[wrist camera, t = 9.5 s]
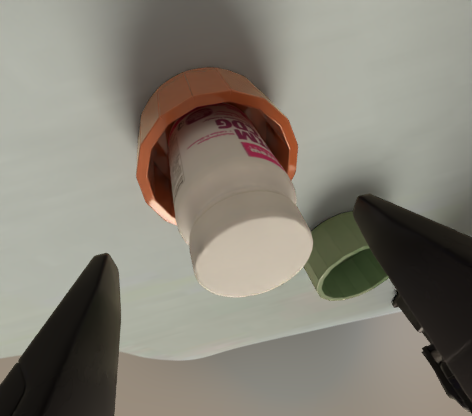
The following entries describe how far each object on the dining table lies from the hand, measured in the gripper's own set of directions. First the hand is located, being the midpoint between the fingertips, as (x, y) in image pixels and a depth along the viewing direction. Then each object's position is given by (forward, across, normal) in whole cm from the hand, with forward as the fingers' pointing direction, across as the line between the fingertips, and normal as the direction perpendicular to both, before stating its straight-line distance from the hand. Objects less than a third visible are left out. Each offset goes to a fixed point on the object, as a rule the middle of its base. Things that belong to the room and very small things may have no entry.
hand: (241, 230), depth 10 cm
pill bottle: (+7, 0, 0) cm, 7 cm away
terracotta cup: (+7, 0, 0) cm, 7 cm away
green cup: (+7, -10, +12) cm, 17 cm away
